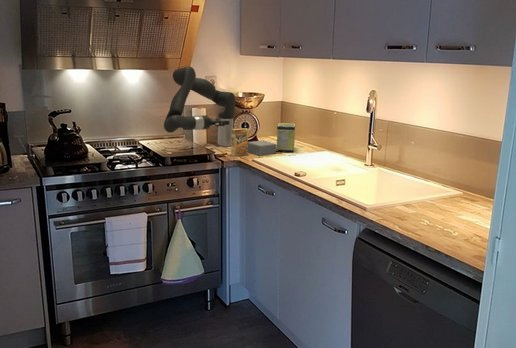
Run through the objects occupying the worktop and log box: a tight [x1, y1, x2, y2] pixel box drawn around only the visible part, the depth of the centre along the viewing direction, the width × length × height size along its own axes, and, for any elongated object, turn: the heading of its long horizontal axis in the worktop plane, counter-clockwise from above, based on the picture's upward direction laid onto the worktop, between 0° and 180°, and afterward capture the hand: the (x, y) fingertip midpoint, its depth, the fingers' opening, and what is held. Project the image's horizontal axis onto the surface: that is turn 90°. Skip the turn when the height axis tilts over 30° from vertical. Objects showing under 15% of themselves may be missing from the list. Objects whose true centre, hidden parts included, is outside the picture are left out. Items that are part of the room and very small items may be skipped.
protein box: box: [276, 122, 296, 153], centre depth 306 cm, size 10×16×16 cm
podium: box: [248, 140, 277, 157], centre depth 297 cm, size 12×12×6 cm
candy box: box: [230, 127, 249, 157], centre depth 289 cm, size 9×4×15 cm, turn 118°
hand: (224, 121), depth 278 cm, fingers open, 8 cm apart
